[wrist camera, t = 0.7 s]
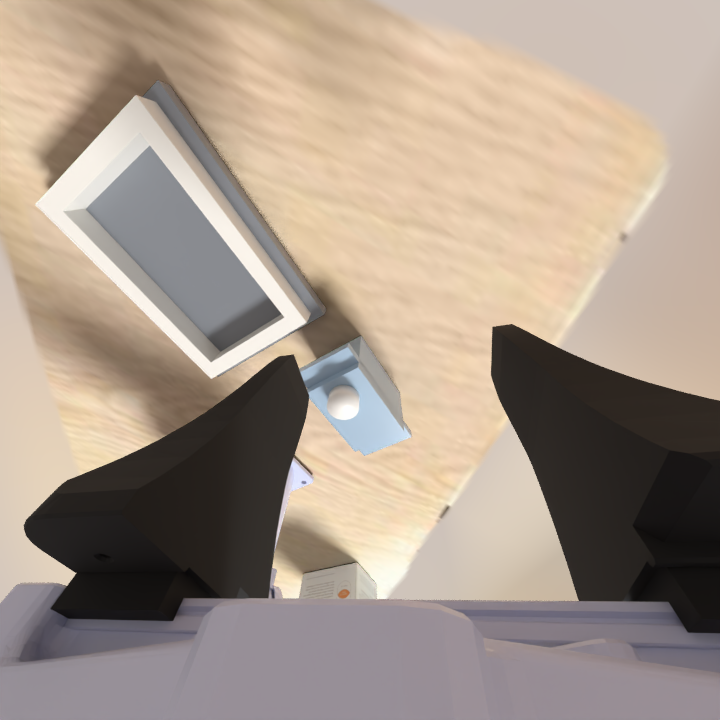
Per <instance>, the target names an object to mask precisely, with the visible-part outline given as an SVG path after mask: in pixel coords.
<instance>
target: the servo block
mask: <svg viewBox="0 0 720 720" xmlns="http://www.w3.org/2000/svg"><path fill="white" fill-rule="evenodd" d="M299 370H300V373H301V375H302V378H303V381H304V383H305V386H306V387H307V391H308V394H309V398H310V400H311V401H312V402H313V403H314V404H315V405H316V407H317V408H318V409H319V410H320V411H321V412H322V414H323V415H324V416H325V417H326V418H327V419H328V421H329V422H330V423H331V424H332V425H333V426H334V428H335V429H336V430H337V431H338V432H339V433H340V435H341V436H342V437H343V438H344V439H345V440H346V442H347V443H348V444H349V445H350V446H351V447H352V449H353V450H354V451H358V450H360V451H361V453H362V454H363V455H364V456H365V455H368V454H370V453H373V452H375V451H378V450H380V449H383V448H385V447H388V446H390V445H393V444H395V443H398V442H400V441H403V440H405V439H408V438H410V437H412V436H411V431H410V429H409V428H408V426H407V425H406V423H405V422H404V421H403V416H402V407H401V399H400V392H399V391H398V389H397V388H396V386H395V385H394V384H393V382H392V381H391V379H390V378H389V376H388V375H387V373H386V372H385V370H384V369H383V367H382V366H381V364H380V363H379V361H378V360H377V358H376V357H375V355H374V354H373V352H372V351H371V349H370V348H369V346H368V345H367V343H366V342H365V340H364V339H363V337H362V336H359V337H357V338H356V339H354V340H352V341H350V342H348V343H346V344H344V345H343V346H341V347H339V348H337V349H335V350H333V351H331V352H329V353H328V354H326V355H324V356H322V357H320V358H318V359H317V360H315V361H313V362H311V363H309V364H308V365H306V366H304V367H302V368H300V369H299Z"/></svg>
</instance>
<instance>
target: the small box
mask: <svg viewBox="0 0 720 720" xmlns="http://www.w3.org/2000/svg"><path fill="white" fill-rule="evenodd" d="M299 599H377V586H376V583H375V582H374V581H373V580H372V579H371V578H370V576H369V575H368V574H367V573H366V572H365V571H364V570H363V568H362V567H361V566H360V565H359V564H358V563H352V564H347V565H342V566H338V567H333V568H329V569H324V570H319V571H315V572H310V573H305V574H303V578H302V584H301V590H300V595H299Z"/></svg>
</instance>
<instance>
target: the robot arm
mask: <svg viewBox="0 0 720 720" xmlns="http://www.w3.org/2000/svg"><path fill="white" fill-rule="evenodd" d="M491 376H492V380H493V383H494V386H495V389H496V392H497V394H498V397H499V400H500V402H501V404H502V406H503V408H504V410H505V412H506V414H507V416H508V418H509V420H510V422H511V424H512V425H513V427H514V429H515V431H516V433H517V435H518V437H519V439H520V441H521V443H522V445H523V447H524V449H525V451H526V452H527V455H528V457H529V459H530V461H531V464H532V466H533V469H534V471H535V474H536V476H537V479H538V481H539V484H540V487H541V490H542V492H543V495H544V498H545V501H546V503H547V506H548V509H549V511H550V514H551V517H552V520H553V523H554V526H555V528H556V532H557V535H558V538H559V541H560V544H561V546H562V549H563V552H564V555H565V558H566V561H567V565H568V568H569V571H570V574H571V577H572V581H573V584H574V587H575V590H576V593H577V597H578V599H579V601H482V600H481V601H480V600H479V601H478V600H477V601H476V600H402V599H283V598H282V593H281V590H280V588H279V587H276V586H273V584H274V580H275V576H276V572H277V570H276V569H274V568H272V564H273V557H274V552H275V548H276V545H277V541H278V537H279V533H280V530H281V526H282V522H283V519H284V515H285V511H286V507H287V504H288V500H289V496H290V492H291V491H293V490H296V489H298V488H301V487H303V486H306V485H309V484H311V483H313V480H314V477H313V476H312V475H311V474H310V473H309V472H308V471H307V470H306V469H305V468H304V467H303V466H302V465H301V464H300V463H299V462H298V461H297V460H296V459H295V458H294V454H295V451H296V448H297V445H298V442H299V439H300V436H301V432H302V429H303V426H304V423H305V419H306V414H307V408H308V401H309V394H308V391H307V389H306V386H305V383H304V381H303V378H302V375H301V373H300V370H299V367H298V365H297V362H296V360H295V357H294V355H287V356H280V357H278V358H276V359H274V360H273V361H272V362H270V363H269V364H268V365H266V366H265V367H264V368H263V369H261V370H260V371H259V372H258V373H257V374H255V375H254V376H253V377H252V378H250V379H249V380H248V381H247V382H246V383H244V384H243V385H242V386H241V387H239V388H238V389H237V390H235V391H234V392H233V393H232V394H230V395H229V396H228V397H226V398H225V399H224V400H222V401H221V402H220V403H218V404H217V405H216V406H214V407H213V408H211V409H210V410H208V411H207V412H205V413H204V414H202V415H201V416H199V417H198V418H196V419H195V420H193V421H191V422H190V423H188V424H186V425H185V426H183V427H181V428H179V429H178V430H176V431H174V432H172V433H170V434H169V435H167V436H165V437H163V438H161V439H160V440H158V441H156V442H154V443H152V444H150V445H148V446H146V447H144V448H142V449H140V450H138V451H136V452H133V453H131V454H129V455H127V456H125V457H123V458H121V459H118V460H116V461H114V462H111V463H109V464H107V465H104V466H102V467H99V468H97V469H94V470H92V471H89V472H87V473H85V474H82V475H80V476H77V477H75V478H72V479H70V480H67V481H66V482H64V483H63V484H62V485H61V486H60V487H58V489H56V490H55V491H54V493H52V495H50V497H48V498H47V499H46V500H45V501H44V502H43V504H41V505H40V506H39V508H37V510H36V511H35V512H34V513H33V514H32V515H31V516H30V517H29V518H28V519H27V520H26V522H25V524H24V530H25V533H26V536H27V537H28V538H29V540H30V541H31V542H32V543H33V544H34V545H36V546H37V547H38V548H39V549H41V550H42V551H44V552H45V553H47V554H48V555H50V556H51V557H53V558H54V559H56V560H57V561H59V562H60V563H62V564H63V565H65V566H66V567H68V568H69V569H71V570H72V571H74V572H75V573H76V575H75V576H74V578H73V579H72V580H71V582H70V583H69V585H68V586H65V585H62V584H58V583H20V584H18V585H16V586H15V587H14V588H13V589H12V591H11V592H10V593H9V594H8V595H7V596H6V598H5V599H4V600H3V601H2V602H1V603H0V720H720V401H718V400H714V399H709V398H704V397H701V396H696V395H692V394H688V393H684V392H680V391H676V390H673V389H669V388H666V387H662V386H659V385H655V384H652V383H648V382H645V381H642V380H638V379H635V378H632V377H629V376H626V375H624V374H621V373H618V372H615V371H612V370H609V369H607V368H604V367H601V366H599V365H596V364H594V363H591V362H589V361H586V360H584V359H582V358H580V357H577V356H575V355H573V354H571V353H568V352H566V351H564V350H562V349H560V348H558V347H556V346H554V345H552V344H550V343H548V342H546V341H544V340H542V339H540V338H538V337H536V336H535V335H533V334H531V333H529V332H527V331H525V330H523V329H521V328H519V327H517V326H515V325H512V324H510V325H503V326H496V327H493V331H492V363H491Z"/></svg>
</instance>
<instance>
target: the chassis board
mask: <svg viewBox="0 0 720 720" xmlns="http://www.w3.org/2000/svg"><path fill="white" fill-rule="evenodd" d="M35 205H36V206H37V207H38V208H39V209H40V210H41V211H42V212H43V213H44V214H45V215H46V216H47V217H48V218H49V219H50V220H51V221H52V222H53V223H54V224H55V225H56V226H57V227H58V228H59V229H60V230H61V231H62V232H63V233H64V234H65V235H66V236H67V237H68V238H69V239H70V240H71V241H72V242H73V243H74V244H75V245H76V246H77V247H79V248H80V249H81V250H82V251H83V252H84V253H85V254H86V255H87V256H88V257H89V258H90V259H91V260H92V261H93V262H94V263H95V264H96V265H97V266H98V267H99V268H100V269H101V270H102V271H103V272H104V273H105V274H106V275H107V276H108V277H109V278H110V279H111V280H112V281H113V282H114V283H115V284H116V285H117V286H118V287H119V288H120V289H121V290H122V291H123V292H124V293H125V294H126V295H127V296H128V297H129V298H130V299H131V300H132V301H133V302H134V303H135V304H136V305H137V306H138V307H139V308H140V309H141V310H142V311H143V312H144V313H145V314H146V315H147V316H148V317H149V318H150V319H151V320H152V321H153V322H154V323H155V324H156V325H157V326H158V327H159V328H160V329H161V330H162V331H163V332H164V333H165V334H166V335H167V336H168V337H169V338H170V339H171V340H172V341H173V342H174V343H175V344H176V345H177V346H178V347H179V348H180V349H181V350H182V351H183V352H184V353H185V354H186V355H187V356H189V357H190V358H191V359H192V360H193V361H194V362H195V363H196V364H197V365H198V366H199V367H200V368H201V369H202V370H203V371H204V372H205V373H206V374H207V375H208V376H209V377H210V378H211V379H212V378H214V377H215V376H218V377H219V376H220V375H222V374H224V373H225V372H227V371H229V370H230V369H232V368H234V367H236V366H237V365H239V364H241V363H242V362H244V361H246V360H247V359H249V358H251V357H253V356H254V355H256V354H258V353H259V352H261V351H263V350H265V349H266V348H268V347H270V346H271V345H273V344H275V343H276V342H278V341H280V340H282V339H283V338H285V337H287V336H288V335H290V334H292V333H294V332H295V331H297V330H299V329H300V328H302V327H304V326H305V325H307V324H309V323H311V322H312V321H314V320H316V319H317V318H319V317H321V316H322V315H324V314H325V312H326V308H325V306H324V305H323V303H322V302H321V300H320V299H319V298H318V296H317V295H316V293H315V292H314V290H313V289H312V288H311V286H310V285H309V283H308V282H307V280H306V279H305V278H304V276H303V275H302V273H301V272H300V270H299V269H298V268H297V266H296V265H295V263H294V262H293V260H292V259H291V258H290V256H289V255H288V253H287V252H286V250H285V249H284V248H283V246H282V245H281V243H280V242H279V241H278V239H277V238H276V236H275V235H274V233H273V232H272V231H271V229H270V228H269V226H268V225H267V223H266V222H265V221H264V219H263V218H262V216H261V215H260V213H259V212H258V211H257V209H256V208H255V206H254V205H253V203H252V202H251V201H250V199H249V198H248V196H247V195H246V193H245V192H244V191H243V189H242V188H241V186H240V185H239V183H238V182H237V181H236V179H235V178H234V176H233V175H232V173H231V172H230V171H229V169H228V168H227V166H226V165H225V163H224V162H223V161H222V159H221V158H220V156H219V155H218V153H217V152H216V151H215V149H214V148H213V146H212V145H211V143H210V142H209V141H208V139H207V138H206V136H205V135H204V133H203V132H202V131H201V129H200V128H199V126H198V125H197V123H196V122H195V121H194V119H193V118H192V116H191V115H190V114H189V112H188V111H187V109H186V108H185V106H184V105H183V104H182V102H181V101H180V99H179V98H178V96H177V95H176V94H175V92H174V91H173V89H172V88H171V86H170V85H168V84H166V83H163V82H161V81H159V80H157V81H156V83H155V84H154V85H153V86H152V87H151V88H150V89H149V90H148V91H147V92H146V93H145V94H144V95H143V97H140V96H138V95H135V96H134V97H133V98H132V99H131V101H130V102H129V103H128V104H127V105H126V106H125V107H124V108H123V109H122V110H121V111H120V113H119V114H118V115H117V116H116V117H115V118H114V119H113V120H112V121H111V122H110V123H109V125H108V126H107V127H106V128H105V129H104V130H103V131H102V132H101V133H100V134H99V135H98V137H97V138H96V139H95V140H94V141H93V142H92V143H91V144H90V145H89V146H88V147H87V149H86V150H85V151H84V152H83V153H82V154H81V155H80V156H79V157H78V158H77V159H76V161H75V162H74V163H73V164H72V165H71V166H70V167H69V168H68V169H67V170H66V171H65V173H64V174H63V175H62V176H61V177H60V178H59V179H58V180H57V181H56V182H55V183H54V185H53V186H52V187H51V188H50V189H49V190H48V191H47V192H46V193H45V194H44V195H43V197H42V198H41V199H40V200H39V201H38V202H37V203H36V204H35Z"/></svg>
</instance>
